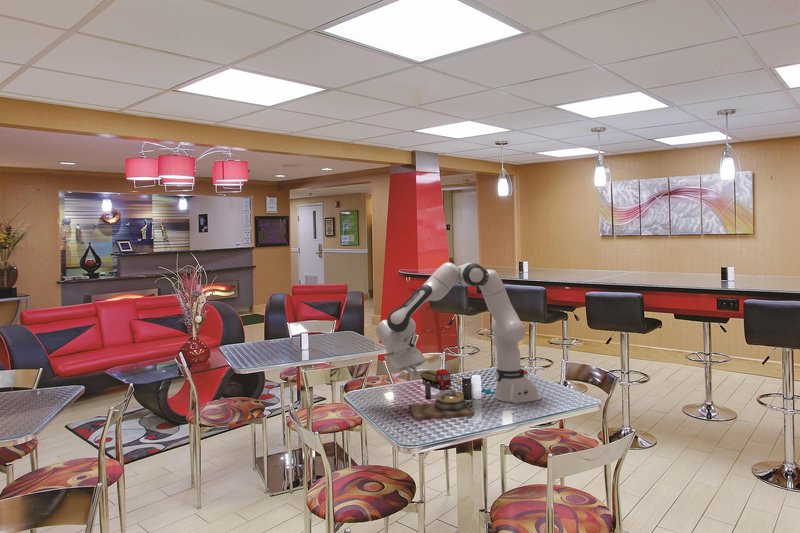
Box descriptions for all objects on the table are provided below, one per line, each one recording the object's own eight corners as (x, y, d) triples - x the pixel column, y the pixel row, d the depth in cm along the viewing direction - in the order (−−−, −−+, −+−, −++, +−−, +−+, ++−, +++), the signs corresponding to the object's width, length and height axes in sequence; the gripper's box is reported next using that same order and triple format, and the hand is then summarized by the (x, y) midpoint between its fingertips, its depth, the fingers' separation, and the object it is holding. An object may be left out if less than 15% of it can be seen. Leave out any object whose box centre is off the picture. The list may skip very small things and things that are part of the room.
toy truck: (442, 391, 270) (442, 372, 269) (420, 383, 287) (419, 365, 287) (453, 389, 273) (452, 370, 273) (430, 381, 291) (429, 363, 290)
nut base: (463, 404, 246) (463, 395, 246) (474, 415, 228) (474, 406, 228) (408, 407, 243) (408, 399, 243) (415, 420, 225) (414, 410, 225)
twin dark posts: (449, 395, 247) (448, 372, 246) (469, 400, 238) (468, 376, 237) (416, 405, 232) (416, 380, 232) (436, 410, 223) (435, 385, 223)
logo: (450, 379, 291) (466, 376, 295) (450, 381, 291) (466, 378, 295) (485, 394, 260) (502, 390, 264) (485, 396, 260) (502, 393, 264)
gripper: (385, 350, 231) (402, 375, 224) (417, 343, 246) (433, 366, 239) (379, 359, 234) (395, 384, 228) (410, 351, 249) (427, 374, 242)
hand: (415, 375), depth 234 cm, fingers closed
